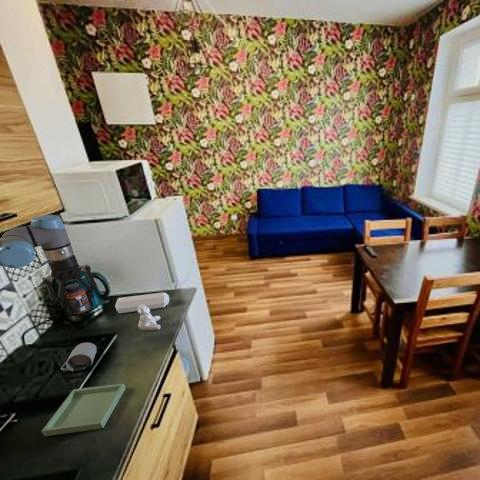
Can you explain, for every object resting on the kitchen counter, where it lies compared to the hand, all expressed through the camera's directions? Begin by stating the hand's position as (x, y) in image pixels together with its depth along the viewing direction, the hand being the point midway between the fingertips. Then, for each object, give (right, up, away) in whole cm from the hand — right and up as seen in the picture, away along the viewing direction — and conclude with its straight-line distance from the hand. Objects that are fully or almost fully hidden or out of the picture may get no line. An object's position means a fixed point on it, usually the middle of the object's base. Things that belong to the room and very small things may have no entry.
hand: (81, 309), depth 106 cm
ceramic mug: (+4, -20, -4) cm, 21 cm away
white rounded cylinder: (+6, -7, +29) cm, 30 cm away
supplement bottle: (0, -1, 0) cm, 1 cm away
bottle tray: (+21, -27, -20) cm, 40 cm away
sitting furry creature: (+17, -12, +16) cm, 26 cm away
